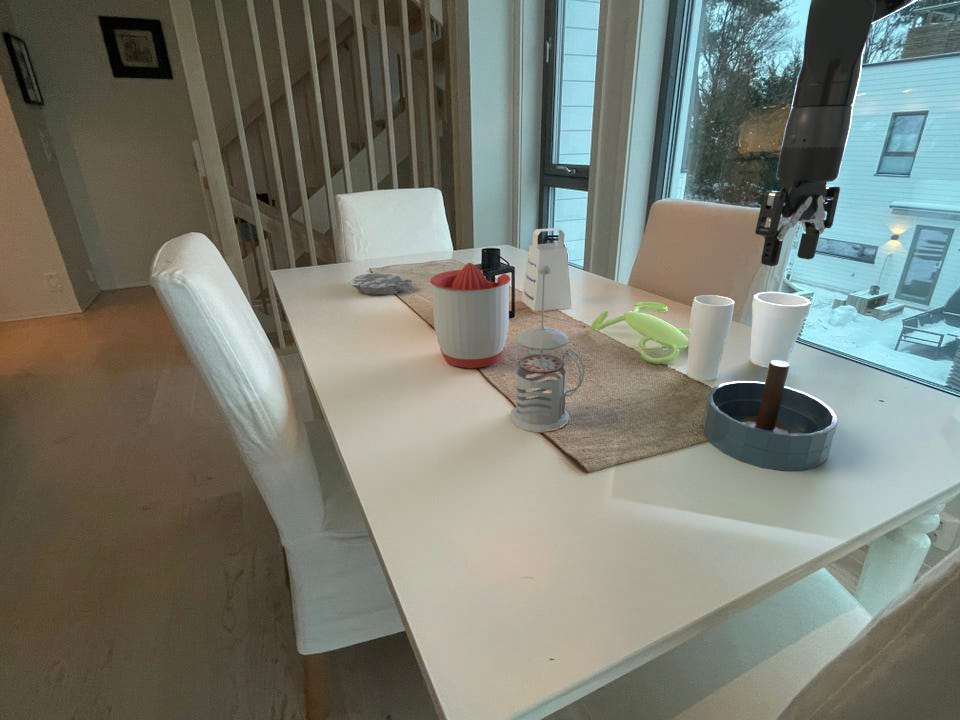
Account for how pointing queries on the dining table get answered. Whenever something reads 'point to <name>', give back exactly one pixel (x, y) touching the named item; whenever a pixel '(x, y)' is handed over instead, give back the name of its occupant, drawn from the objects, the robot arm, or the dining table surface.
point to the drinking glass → (708, 335)
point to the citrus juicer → (470, 316)
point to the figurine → (650, 330)
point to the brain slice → (380, 283)
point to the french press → (546, 406)
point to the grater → (547, 275)
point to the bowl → (761, 447)
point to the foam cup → (776, 325)
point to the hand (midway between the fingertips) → (787, 261)
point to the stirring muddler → (771, 399)
